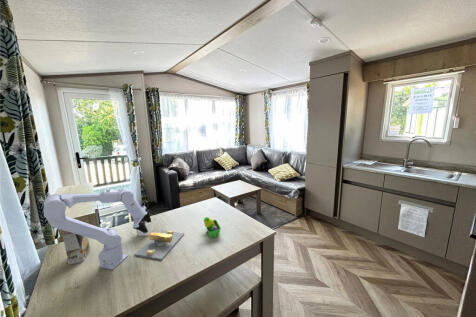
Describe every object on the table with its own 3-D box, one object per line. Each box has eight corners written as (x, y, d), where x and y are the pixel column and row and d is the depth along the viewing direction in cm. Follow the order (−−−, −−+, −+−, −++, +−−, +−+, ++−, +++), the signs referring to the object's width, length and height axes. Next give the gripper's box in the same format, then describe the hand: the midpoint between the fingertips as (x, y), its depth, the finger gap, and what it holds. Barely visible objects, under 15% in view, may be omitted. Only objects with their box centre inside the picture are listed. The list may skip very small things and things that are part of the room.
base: (161, 260, 94) (161, 256, 94) (134, 255, 98) (134, 251, 97) (184, 234, 115) (183, 231, 114) (161, 231, 119) (160, 228, 118)
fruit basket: (221, 236, 112) (220, 219, 110) (206, 240, 109) (205, 222, 107) (216, 226, 123) (215, 210, 120) (202, 229, 120) (201, 213, 117)
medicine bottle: (154, 229, 121) (151, 212, 119) (147, 236, 114) (145, 217, 112) (143, 228, 122) (141, 211, 119) (136, 235, 115) (134, 217, 112)
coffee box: (84, 261, 94) (78, 232, 91) (68, 265, 92) (61, 235, 89) (91, 249, 103) (85, 223, 100) (76, 253, 101) (70, 225, 97)
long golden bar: (167, 246, 101) (166, 239, 100) (146, 242, 104) (145, 236, 103) (174, 238, 108) (174, 232, 107) (155, 235, 111) (154, 229, 110)
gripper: (137, 216, 92) (151, 234, 98) (146, 198, 105) (157, 215, 111) (124, 221, 92) (138, 239, 98) (133, 202, 105) (146, 219, 111)
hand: (147, 226), depth 104 cm, fingers open, 7 cm apart
